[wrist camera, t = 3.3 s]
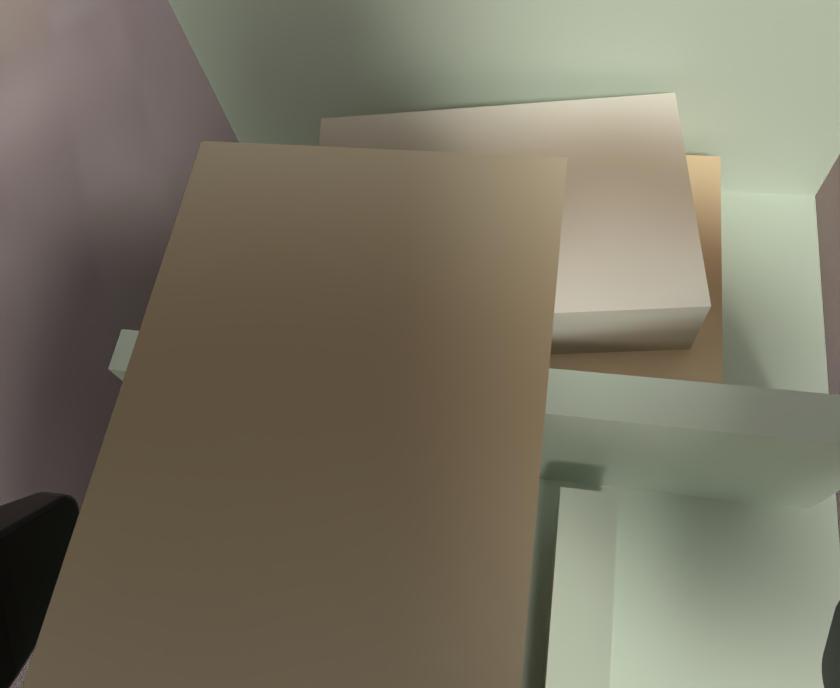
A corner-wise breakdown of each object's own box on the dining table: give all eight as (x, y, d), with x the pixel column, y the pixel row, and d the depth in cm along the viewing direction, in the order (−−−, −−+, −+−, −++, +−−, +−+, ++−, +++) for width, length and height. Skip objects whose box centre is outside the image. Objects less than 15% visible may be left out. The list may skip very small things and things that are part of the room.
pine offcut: (702, 427, 16) (722, 396, 14) (291, 385, 18) (268, 354, 16) (702, 204, 18) (720, 156, 17) (338, 184, 20) (321, 138, 18)
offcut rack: (859, 1105, 12) (1211, 1523, 6) (53, 916, 14) (-291, 1077, 8) (802, 188, 19) (935, -54, 13) (266, 161, 21) (166, -55, 15)
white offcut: (690, 349, 15) (711, 306, 13) (326, 363, 16) (304, 323, 14) (660, 150, 17) (675, 92, 15) (339, 171, 18) (321, 118, 16)
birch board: (502, 888, 13) (426, 1773, 2) (365, 860, 14) (-246, 1504, 3) (533, 536, 16) (568, 157, 5) (416, 521, 16) (202, 141, 5)
